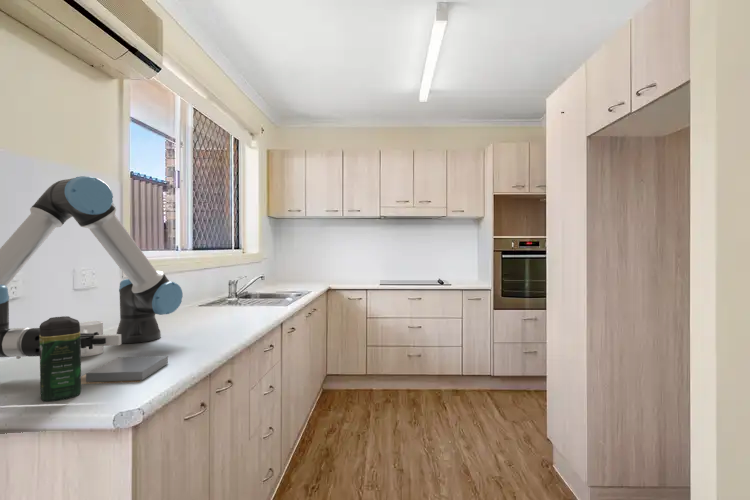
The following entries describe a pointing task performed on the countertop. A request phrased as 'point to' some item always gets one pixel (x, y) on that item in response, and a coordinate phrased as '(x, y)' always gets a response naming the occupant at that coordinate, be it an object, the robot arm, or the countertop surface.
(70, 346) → the coffee jar
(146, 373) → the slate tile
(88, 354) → the mug
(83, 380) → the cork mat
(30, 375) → the countertop surface
